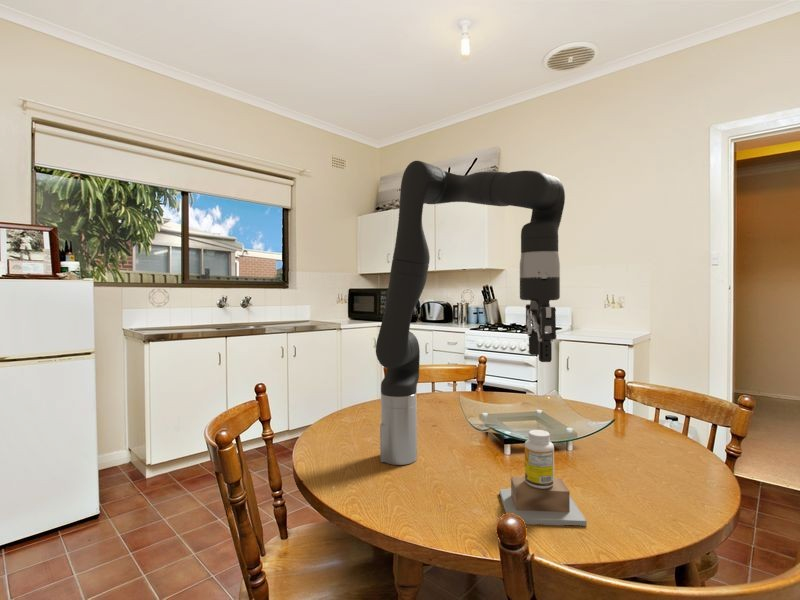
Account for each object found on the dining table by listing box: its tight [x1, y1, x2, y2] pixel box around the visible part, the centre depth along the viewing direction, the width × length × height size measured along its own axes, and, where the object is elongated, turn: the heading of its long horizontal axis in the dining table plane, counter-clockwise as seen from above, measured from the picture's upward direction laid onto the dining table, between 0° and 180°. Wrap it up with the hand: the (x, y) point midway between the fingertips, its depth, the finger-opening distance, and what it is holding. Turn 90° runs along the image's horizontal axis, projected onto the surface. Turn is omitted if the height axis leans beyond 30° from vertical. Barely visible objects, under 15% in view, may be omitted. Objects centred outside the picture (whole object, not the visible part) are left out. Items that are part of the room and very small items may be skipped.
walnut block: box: [510, 476, 571, 512], centre depth 86 cm, size 10×6×4 cm, turn 85°
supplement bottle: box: [524, 429, 555, 489], centre depth 86 cm, size 6×6×10 cm
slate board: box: [499, 488, 588, 527], centre depth 86 cm, size 14×12×1 cm
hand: (539, 358), depth 86 cm, fingers open, 8 cm apart
